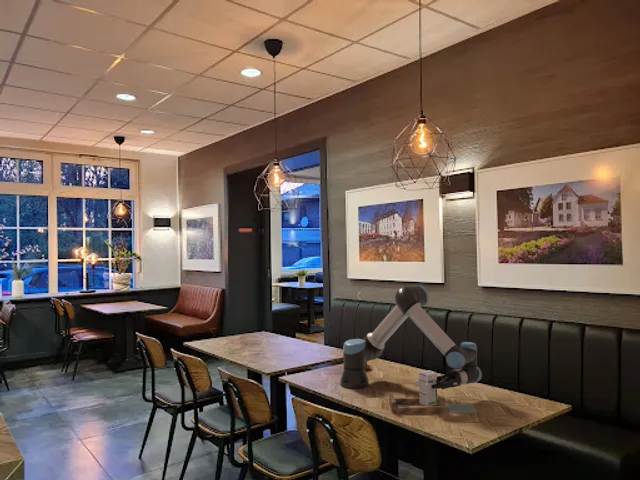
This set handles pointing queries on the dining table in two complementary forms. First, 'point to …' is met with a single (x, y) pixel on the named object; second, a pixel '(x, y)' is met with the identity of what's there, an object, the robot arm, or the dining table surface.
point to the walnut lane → (403, 408)
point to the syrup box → (430, 395)
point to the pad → (461, 408)
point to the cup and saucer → (367, 366)
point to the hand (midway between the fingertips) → (419, 385)
